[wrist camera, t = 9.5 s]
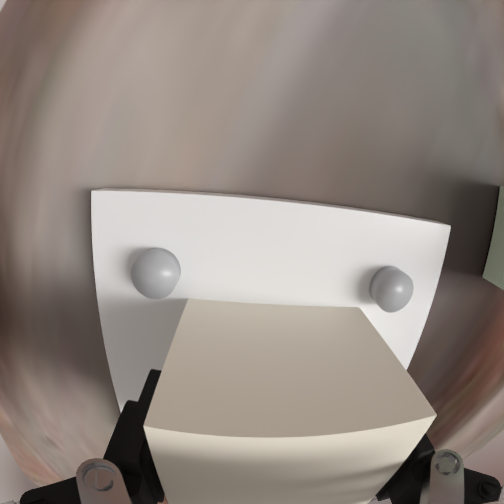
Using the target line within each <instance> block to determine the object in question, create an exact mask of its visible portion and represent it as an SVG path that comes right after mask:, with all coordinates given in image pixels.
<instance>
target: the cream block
mask: <svg viewBox="0 0 504 504" xmlns="http://www.w3.org/2000/svg"><path fill="white" fill-rule="evenodd" d="M436 416H437V414H436V413H435V411H434V410H433V408H432V407H431V405H430V404H429V402H428V401H427V400H426V398H425V397H424V395H423V394H422V392H421V391H420V389H419V388H418V386H417V385H416V384H415V382H414V381H413V379H412V378H411V376H410V375H409V374H408V372H407V371H406V369H405V368H404V367H403V365H402V364H401V362H400V361H399V360H398V358H397V357H396V356H395V354H394V353H393V351H392V350H391V349H390V347H389V346H388V345H387V343H386V342H385V341H384V339H383V338H382V337H381V335H380V334H379V333H378V331H377V330H376V329H375V327H374V326H373V325H372V323H371V322H370V321H369V319H368V318H367V317H366V315H365V314H364V313H363V312H362V310H361V309H360V308H359V307H324V306H296V305H275V304H257V303H241V302H227V301H214V300H201V299H190V298H188V301H187V303H186V306H185V308H184V311H183V314H182V316H181V319H180V322H179V324H178V327H177V330H176V333H175V335H174V338H173V341H172V344H171V346H170V349H169V352H168V355H167V357H166V360H165V363H164V366H163V369H162V372H161V375H160V377H159V380H158V383H157V386H156V389H155V392H154V395H153V398H152V401H151V404H150V407H149V410H148V413H147V416H146V419H145V422H144V425H143V427H144V430H145V434H146V438H147V441H148V445H149V448H150V451H151V455H152V458H153V461H154V464H155V467H156V470H157V473H158V476H159V479H160V482H161V485H162V488H163V490H164V493H165V496H166V498H167V501H168V504H367V503H368V502H369V501H370V500H371V499H372V498H373V497H374V496H375V495H376V494H377V493H378V492H379V491H380V490H381V488H382V487H383V486H384V485H385V484H386V483H387V482H388V481H389V479H390V478H391V477H392V476H393V475H394V474H395V472H396V471H397V470H398V469H399V467H400V466H401V465H402V464H403V462H404V461H405V460H406V459H407V457H408V456H409V455H410V453H411V452H412V451H413V449H414V448H415V447H416V445H417V444H418V443H419V441H420V440H421V438H422V437H423V435H424V434H425V432H426V431H427V430H428V428H429V427H430V425H431V423H432V422H433V420H434V419H435V417H436Z"/></svg>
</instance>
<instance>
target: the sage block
mask: <svg viewBox="0 0 504 504" xmlns="http://www.w3.org/2000/svg"><path fill="white" fill-rule="evenodd" d="M482 277H483V278H484V279H486V280H488V281H489V282H491V283H493V284H494V285H496V286H498V287H499V288H501V289H503V290H504V187H501V186H500V191H499V199H498V206H497V213H496V219H495V225H494V230H493V235H492V240H491V245H490V249H489V253H488V257H487V261H486V265H485V269H484V273H483V276H482Z"/></svg>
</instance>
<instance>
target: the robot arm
mask: <svg viewBox="0 0 504 504" xmlns="http://www.w3.org/2000/svg"><path fill="white" fill-rule="evenodd" d="M161 372H162V370H156V369H151V370H150V372H149V374H148V377H147V379H146V382H145V384H144V387H143V389H142V392H141V395H140V397H139V400H138V401H132V400H128V401H126V403H125V405H124V407H123V410H122V412H121V415H120V417H119V420H118V422H117V424H116V427H115V429H114V432H113V434H112V437H111V439H110V442H109V445H108V447H107V450H106V452H105V455H104V458H103V459H98V458H94V459H89V460H87V461H85V462H83V463H82V464H81V465H80V466H79V467H78V469H77V472H76V477H73V478H70V479H67V480H64V481H60V482H57V483H54V484H50V485H47V486H43V487H40V488H36V489H32V490H29V491H27V492H25V493H24V494H23V495H22V497H21V499H20V501H18V502H14V501H9V502H6V503H2V504H157V503H158V502H163V500H164V495H165V493H164V490H163V488H162V485H161V482H160V479H159V476H158V473H157V470H156V467H155V464H154V461H153V458H152V455H151V451H150V448H149V445H148V441H147V438H146V434H145V430H144V427H143V425H144V422H145V419H146V416H147V413H148V410H149V407H150V404H151V401H152V398H153V395H154V392H155V389H156V386H157V383H158V380H159V377H160V375H161ZM375 496H376V497H377V499H378V501H381V500H385V499H388V498H390V500H391V502H392V504H504V485H503V486H502V487H501V486H500V483H499V481H498V480H497V479H496V478H494V477H492V476H489V475H486V474H482V473H479V472H476V471H472V470H469V469H466V468H464V465H463V460H462V458H461V457H460V456H459V455H458V454H457V453H456V452H454V451H452V450H448V449H445V450H440V451H438V452H436V453H435V451H434V447H433V445H432V444H431V442H430V440H429V439H428V437H427V435H426V433H425V434H424V435H423V437H422V438H421V440H420V441H419V443H418V444H417V445H416V447H415V448H414V449H413V451H412V452H411V453H410V455H409V456H408V457H407V459H406V460H405V461H404V462H403V464H402V465H401V466H400V467H399V469H398V470H397V471H396V472H395V474H394V475H393V476H392V477H391V478H390V479H389V481H388V482H387V483H386V484H385V485H384V486H383V487H382V488H381V490H380V491H379V492H378V493H377V494H376V495H375Z"/></svg>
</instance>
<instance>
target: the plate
mask: <svg viewBox="0 0 504 504" xmlns="http://www.w3.org/2000/svg"><path fill="white" fill-rule="evenodd" d="M91 220H92V246H93V261H94V273H95V283H96V292H97V301H98V308H99V315H100V322H101V328H102V334H103V339H104V345H105V350H106V355H107V360H108V364H109V369H110V373H111V378H112V382H113V386H114V390H115V394H116V397H117V401H118V405H119V408H120V412H122V410H123V407H124V405H125V403H126V401H128V400H132V401H138V400H139V397H140V395H141V392H142V389H143V387H144V384H145V382H146V379H147V377H148V374H149V372H150V370H151V369H156V370H162V369H163V366H164V363H165V360H166V357H167V355H168V352H169V349H170V346H171V344H172V341H173V338H174V335H175V333H176V330H177V327H178V324H179V322H180V319H181V316H182V314H183V311H184V308H185V306H186V303H187V301H188V298H190V299H201V300H214V301H227V302H241V303H257V304H275V305H296V306H324V307H359V308H360V309H361V310H362V312H363V313H364V314H365V315H366V317H367V318H368V319H369V321H370V322H371V323H372V325H373V326H374V327H375V329H376V330H377V331H378V333H379V334H380V335H381V337H382V338H383V339H384V341H385V342H386V343H387V345H388V346H389V347H390V349H391V350H392V351H393V353H394V354H395V356H396V357H397V358H398V360H399V361H400V362H401V364H402V365H403V367H404V368H405V369H406V370H407V368H408V366H409V363H410V361H411V359H412V356H413V354H414V351H415V349H416V346H417V344H418V341H419V338H420V336H421V333H422V330H423V328H424V325H425V322H426V319H427V316H428V313H429V310H430V307H431V304H432V301H433V297H434V294H435V291H436V287H437V284H438V280H439V277H440V273H441V269H442V265H443V261H444V257H445V253H446V248H447V244H448V239H449V234H450V229H451V226H450V225H447V224H444V223H441V222H439V221H434V220H429V219H423V218H417V217H412V216H406V215H400V214H394V213H387V212H381V211H375V210H368V209H361V208H354V207H347V206H339V205H331V204H324V203H315V202H307V201H298V200H289V199H279V198H269V197H259V196H247V195H235V194H223V193H208V192H193V191H175V190H152V189H119V188H102V189H97V190H92V191H91Z"/></svg>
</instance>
